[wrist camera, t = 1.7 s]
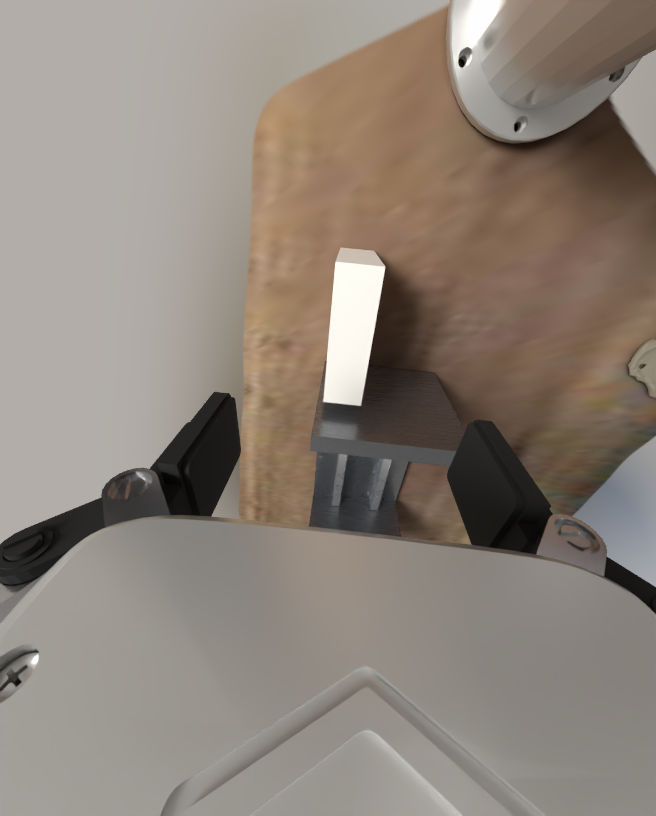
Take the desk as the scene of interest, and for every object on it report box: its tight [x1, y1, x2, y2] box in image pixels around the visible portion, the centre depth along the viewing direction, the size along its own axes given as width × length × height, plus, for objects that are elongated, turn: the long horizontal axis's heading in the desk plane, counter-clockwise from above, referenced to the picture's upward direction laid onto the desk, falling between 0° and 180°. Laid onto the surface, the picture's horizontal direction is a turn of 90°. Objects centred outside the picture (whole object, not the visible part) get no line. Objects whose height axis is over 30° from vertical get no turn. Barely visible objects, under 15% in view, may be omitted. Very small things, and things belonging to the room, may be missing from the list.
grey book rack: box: [309, 361, 465, 537], centre depth 32 cm, size 22×12×13 cm, turn 175°
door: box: [323, 248, 385, 406], centre depth 24 cm, size 10×3×10 cm, turn 175°
